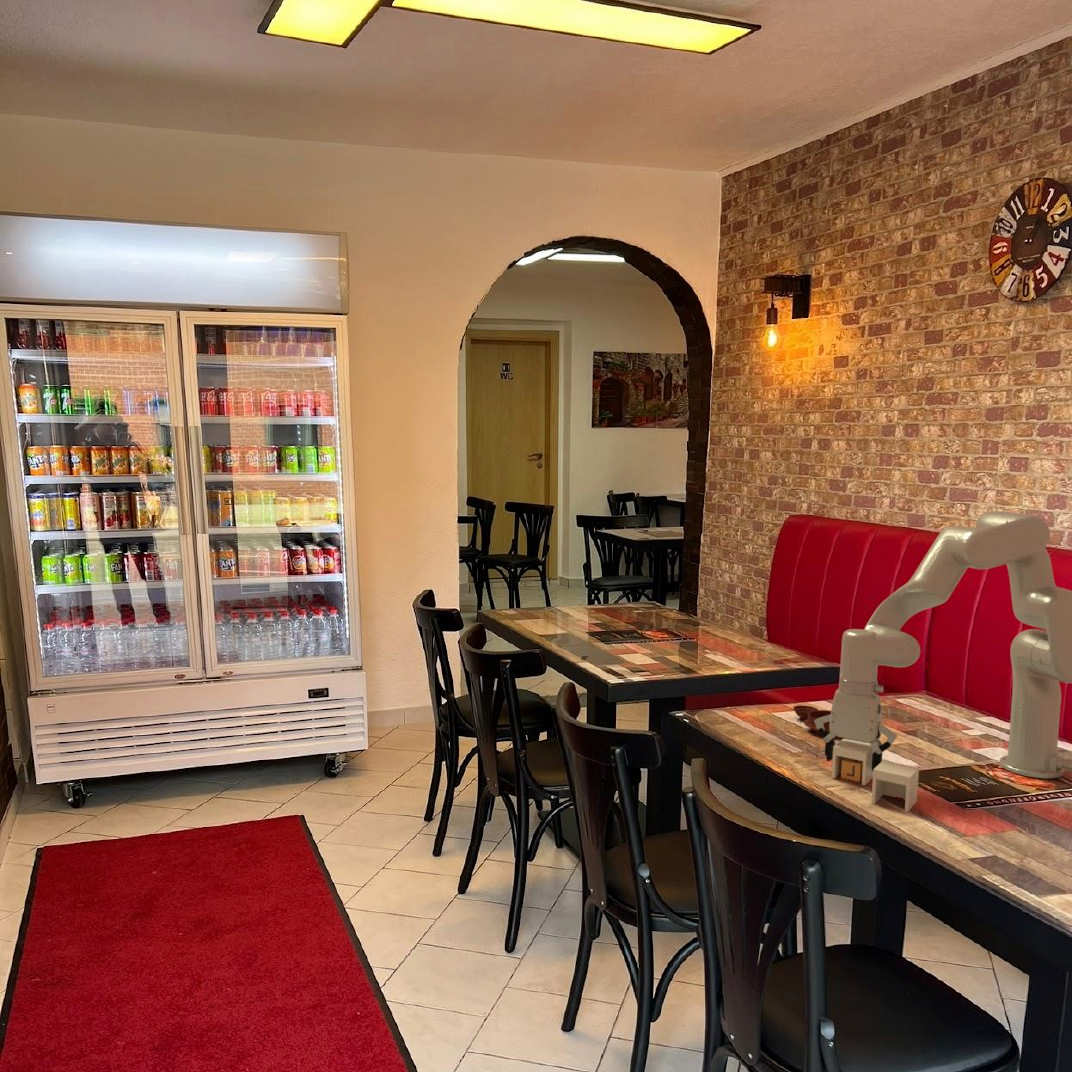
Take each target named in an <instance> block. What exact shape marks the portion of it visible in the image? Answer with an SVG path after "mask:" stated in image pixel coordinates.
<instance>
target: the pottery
mask: <svg viewBox="0 0 1072 1072" xmlns="http://www.w3.org/2000/svg"><path fill="white" fill-rule="evenodd" d="M792 708H793V711H794V712H795V715H797V716H798V717H799V721H803V724H804V726H805V727H807V728H810V729H812V730H814V731H815V733H817V734H818V729H817V727H816V725H815V722H814V720H815V719H817V718H820V717H824V716H827V715H830V714H831V710H824V709H821V710H820V709H818V708H817V707H815V706H810V705H795V706H793V707H792ZM829 723H830V721H829V722H825V723H823V725H824V728H825V729H826V730H827V731H828V733H830V731H829Z"/></svg>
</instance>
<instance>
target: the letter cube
mask: <svg viewBox="0 0 1072 1072" xmlns="http://www.w3.org/2000/svg"><path fill="white" fill-rule="evenodd" d="M862 772H863V761H860V760H855V759H851V758H846V757H845V758H844V759H843V760H842V765H841V773H840V779H844V778H846V779H845V780H848V779H849V780H850V781H852V780H853V782H857V781H858V782H857V783H860V782H862Z"/></svg>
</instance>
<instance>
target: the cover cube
mask: <svg viewBox="0 0 1072 1072" xmlns="http://www.w3.org/2000/svg"><path fill="white" fill-rule="evenodd" d="M874 752H875V751H874V749H873V748H872V746H871V745H870V743H865V742H860V741H855V740H850V739H845V738H841V740H840V741H838V742H837V743H835V746H833V759H832V760H831V761H832V766H831V779H834V778H835V779H836V778H837V777H838V776H840V775H841V765H842V760H843V759H844V758H845V757H846V758H851V759H855V760H860V761H863V772H862V780H861V786H864V785H865V786H866V785H867V784H868V783H869V782H870V781H871V780H873V771H872V770H871V769H872V755H873V753H874Z"/></svg>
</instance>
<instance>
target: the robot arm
mask: <svg viewBox="0 0 1072 1072" xmlns="http://www.w3.org/2000/svg"><path fill="white" fill-rule="evenodd" d="M1050 539H1051V531H1050V526H1049V525H1048V523H1047V522H1046V520H1044V519H1042V518H1041V517H1040V516H1037V515H1035V514H1027V513H1019V512H1011V511H1000V510H999V511H998V510H995V511H994V510H993V511H987V512H985V513H982V514H981V515H980V516H979V517H978V518H977V520H976V522H975V527H971V526H964V525H963V526H962V525H951V526H948V527H946V528H943V530H941V531H940V532H939V533H938V535H937V536H936V538H935V540H934V542H933V543H932V545H931V546H930V547H929V549H928V551H927V553H926V554H925V556H924V557H923V559H922V561H921V562H920V564H919V565H918V567H917V568H916V570H915V572H914V574H913V575H912V576H911V577H910V579H909V580H908V581H907V583H905V584H904V585H902V586H901V587H899V588H898V589H896V590H895V591H894V592H893V593H892V594H890V595H889V596H888V597H887V598H886V599H884V600H883V601H882V602H881V603H880V604H879V605H878V606H877V608H876V609H875V611H874V612H873V613H872V615H871V617H870V618H869V620H868V622H867V623H866V625H865V626H864V629H859V628H850V629H847V630H844V632H843V633H842V638H841V652H840V667H839V683H838V688H837V689H836V690H835V693H834V696H833V700H832V704H831V710H830V711H831V714H830V715H827V716H824V717H820V718H817V719H815V720H814V722H815V725H816V727H817V729H818V733H819V736H820V737H821V738H822V740H823V742H824V743H825V744H824V746H825V747H824V756H826V757H825V759H826V762H831V761H833V746H835V745H836V741H835V740H834V738H836V737H838V738H841V739H848V740H853V741H858V742H863V743H868V744H870V745H871V746H872V748H873V749H874V751H875V752H874V753H873V755H872V769H871V770H872V771H873V769H874V768H875V767H876V766H878V765H879V764H880V763H881V762H882V761H883V752H885V751H886V750H887V749H889V748H890V747H892V745H893V744H894V742H895V741H896V739H897V738H898V734H897V733H896V732H893V731H892V729H890V728H888V727H886V725H884V724H883V722H882V721H883V720H882V719H883V718H882V702H881V701H882V700H881V696H880V695H879V694H878V693H883V692H884V686H883V685H879V684H878V682H879V681H878V669H879V668H878V666H885V667H892V668H907V667H910V666H912V665H913V664H915V663H916V662H917V661H918V659H919V658H920V655H921V646H920V644H919V642H918V640H917V639H916V638H914V637H913V636H912V635H910V634H908V633H906V632H903V631H901V629H902V628H903V626H904V625H905V623H906V622H907V621H909V619H910V618H911V617H913V616H914V615H916V614H918V613H920V612H922V611H926V610H928V609H931V608H935V607H938V606H941V605H942V604H944V603H946V602H947V601H948V600H949V598H950V597H951V595H952V594H953V592H954V590H955V588H957V585H958V584H959V582H960V581H961V579H962V577H963V576H964V574H965V573H966V572H967V570H968V568H971V569H976V570H989V569H993V568H996V567H1000V566H1004V565H1006V568H1007V571H1008V576H1009V577H1008V578H1009V585H1010V587H1009V588H1010V593H1011V594H1010V595H1011V603H1012V610H1013V614H1014V617H1015V618H1016V620H1018V621H1019V622H1021V623H1022V624H1025V625H1028V626H1031V627H1034V629H1033V628H1031V629H1026V630H1023V631H1021V632H1019V633H1018V634H1017V635H1015V637H1014V638H1013V640H1012V642H1011V644H1010V652H1009V653H1010V662H1011V668H1012V669H1011V670H1012V694H1011V707H1010V708H1011V709H1010V721H1009V722H1010V724H1009V736H1008V738H1009V739H1008V750H1007V753H1008V754H1007V755H1004V756H1002V757H1000V759H999V765H1000V767H1001V768H1003V769H1004V770H1006V771H1009V772H1011V773H1014V774H1018V775H1020V776H1024V777H1025V776H1026V777H1029V778H1037V779H1058V778H1061V777H1063V776H1064V771H1065V770H1069V771H1072V759H1071V758H1063V756H1061V751H1060V750H1058V742H1059V741H1058V740H1059V728H1060V719H1061V718H1060V717H1061V716H1060V715H1061V706H1062V689H1061V685H1060V682H1061V683H1065V684H1072V589H1071V590H1070V589H1067V588H1064V587H1058V586H1057V585H1056V583H1055V579H1054V571H1053V567H1052V561H1051V556H1050V554H1049V552H1048V549H1047V548H1046V547H1047V546H1048V545H1049V542H1050ZM829 721H830V723H829V731H830V733H828V731H827V730H826V729H825V728H824V725H823V723H825V722H829ZM818 733H817V734H818ZM882 735H884V736H885V737H886V738H887V739H886V740H885V742H883V743H882V741H881V740H880V738H881V737H882Z"/></svg>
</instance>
